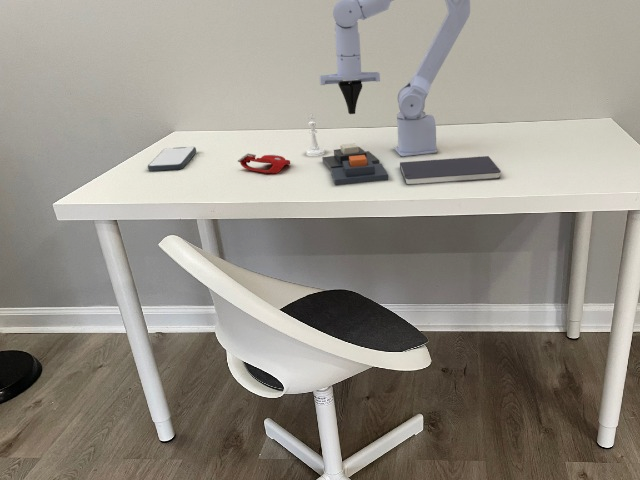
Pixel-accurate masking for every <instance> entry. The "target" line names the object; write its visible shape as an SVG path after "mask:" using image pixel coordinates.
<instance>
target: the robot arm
mask: <svg viewBox="0 0 640 480" xmlns="http://www.w3.org/2000/svg"><path fill="white" fill-rule="evenodd" d="M393 1H394V0H339V1H337V2H336V3H335V5H334V7H333V10H332V16H333V19H334V22H335V25H334V31H335V34H334V41H335V54H336V55H335V56H336V69H337V73H332V74H322V75H319V77H318V78H319V85H320V86H325V85H338V87H339V89H340V91H341V93H342V95H343V98H344V100H345V105H346V108H347V112H348V114H349V115H355V114H356V109H357V105H358V104H357V103H358V99H359V96H360V95H361V91H362V89H363V83H368V82H369V83H370V82H375V83H377V82H381V73H380V72H378V71H363V72H362V59H361V39H360V37H361V36H360V33H359V24H358V21H359V20H362V21H365V20H367V19H369V18H371V17H374V16H377V15H379V14H381V13H383V12H385V11H388V10H389V8H390V6H391V3H392V2H393ZM444 2H445V6H446V9H447V13H446V15H445V17H444V19H443V20H442V22H441V24H440V26H439V27H438V29H437V31H436V34H435V35H434V37H433V39H432V40H431V43H430V44H429V46H428V48H427V50H426V52H425V53H424V56H423V58H422V59H421V61H420V63H419V64H418V66H417V69H416V70H415V72H414V74H413V75H412V76H411V78H410V79H409V80H408V83H406V85H405V86H403V87H402V88H401V89H400V90H399V91H398V93H397V103H398V109H399V112H398V113H397V114H396V127H397V145H398V146H394V147H393V149H394V150H395V152H396V153H397V154H398V155H399V156H400V157H410V156H419V155H426V154H437V153H438V150H437V124H436V119H435V116H434V115H433V114H427V113H426V112H425V107H426V99H427V98H428V95H429V94H430V91H431V87H432V84H433V83H434V81H435V79H436V77H437V75H438V73H439V71H440V70H441V68H442V67H443V65H444V63H445V61H446V59H447V57H448V56H449V53H450V51H451V50H452V48H453V46H454V45H455V43H456V41H457V39H458V37H459V36H460V34H461V32H462V30H463V28H464V27H465V25H466V23H467V21H468V19H469V18H470V13H471V0H444Z"/></svg>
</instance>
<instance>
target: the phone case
mask: <svg viewBox="0 0 640 480" xmlns="http://www.w3.org/2000/svg"><path fill="white" fill-rule="evenodd" d="M196 153H197V148H196V147H195V146H181V147H167V148H164V149H162V150H161V151H160V153H158V154H157V156H156V157H155V158H153V159H152V161H151V162H150V163H149V164H148V165H147V169H148V170H147V171H149V172H161V171H163V172H164V171H180V170H183V169H184V168H185V167H186V166H187V164H188V163H189V162H190V160H191V159H192V158H193V157H194V155H196Z"/></svg>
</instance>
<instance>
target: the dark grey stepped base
mask: <svg viewBox="0 0 640 480" xmlns="http://www.w3.org/2000/svg"><path fill="white" fill-rule="evenodd" d="M358 147H359V153H352V154H343V153H342V152H341V148H338V149H333V155H329V156H322V157H321V159H322V163H323V165H324V166H325V167H326V168H327V169H328V170H329V172H331V168H340V167H343V162H342V161H349V156H358V155H365V157H366V159H371V161H372V163H373V164H380V159H379V158H378V157H377V156H375V155H374V154H373V153H372V152H370V151H369V150H367V151H364V150H363V148H362V147H360V146H358Z"/></svg>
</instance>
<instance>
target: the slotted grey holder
mask: <svg viewBox="0 0 640 480" xmlns="http://www.w3.org/2000/svg"><path fill="white" fill-rule="evenodd" d="M342 162H343V167H340V168H331V171H330V174H331V175H330V176H331V177H332V181H333V183H334V186H345V185H356V184H364V183H374V182H375V183H376V182H386V181H389V174H388V172H387V170H386V169H385V167H384V165H383V164H382V163H379V164H373V163H372V161H371V159H367V166H357V167H351V166H350V163H349V161H342Z"/></svg>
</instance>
